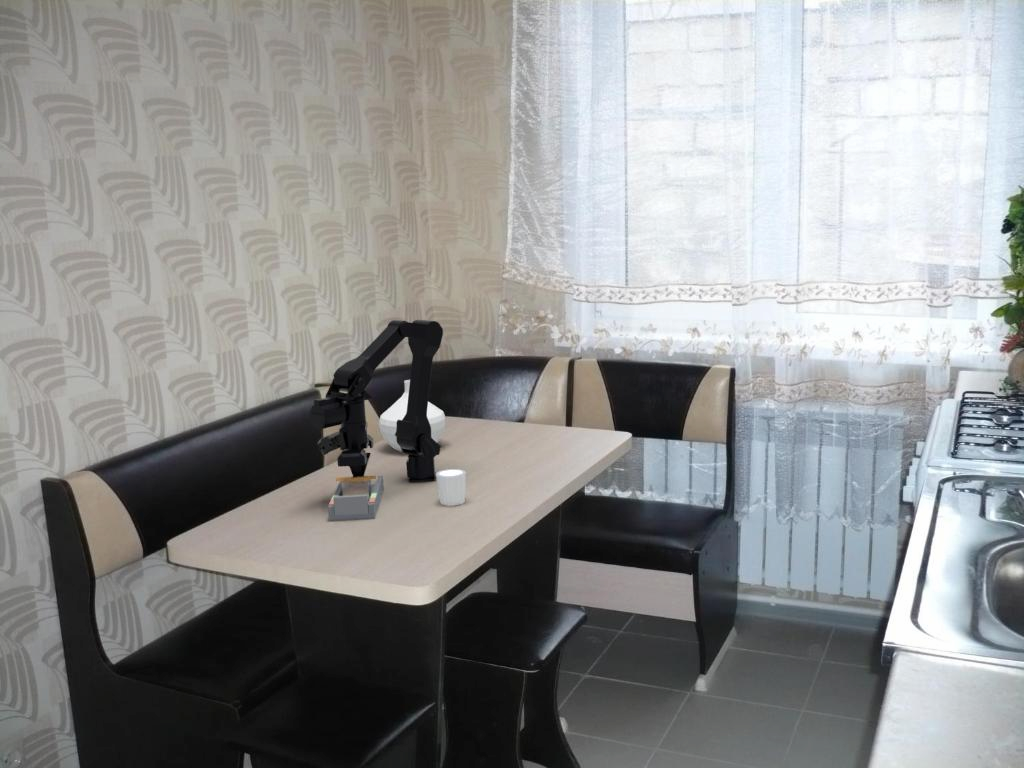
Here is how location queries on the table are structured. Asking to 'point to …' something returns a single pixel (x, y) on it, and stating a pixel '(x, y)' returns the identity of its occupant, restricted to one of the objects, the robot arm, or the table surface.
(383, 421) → the vase
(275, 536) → the table surface
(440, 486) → the shot glass
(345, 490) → the gauge sled
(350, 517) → the track
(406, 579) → the table surface
